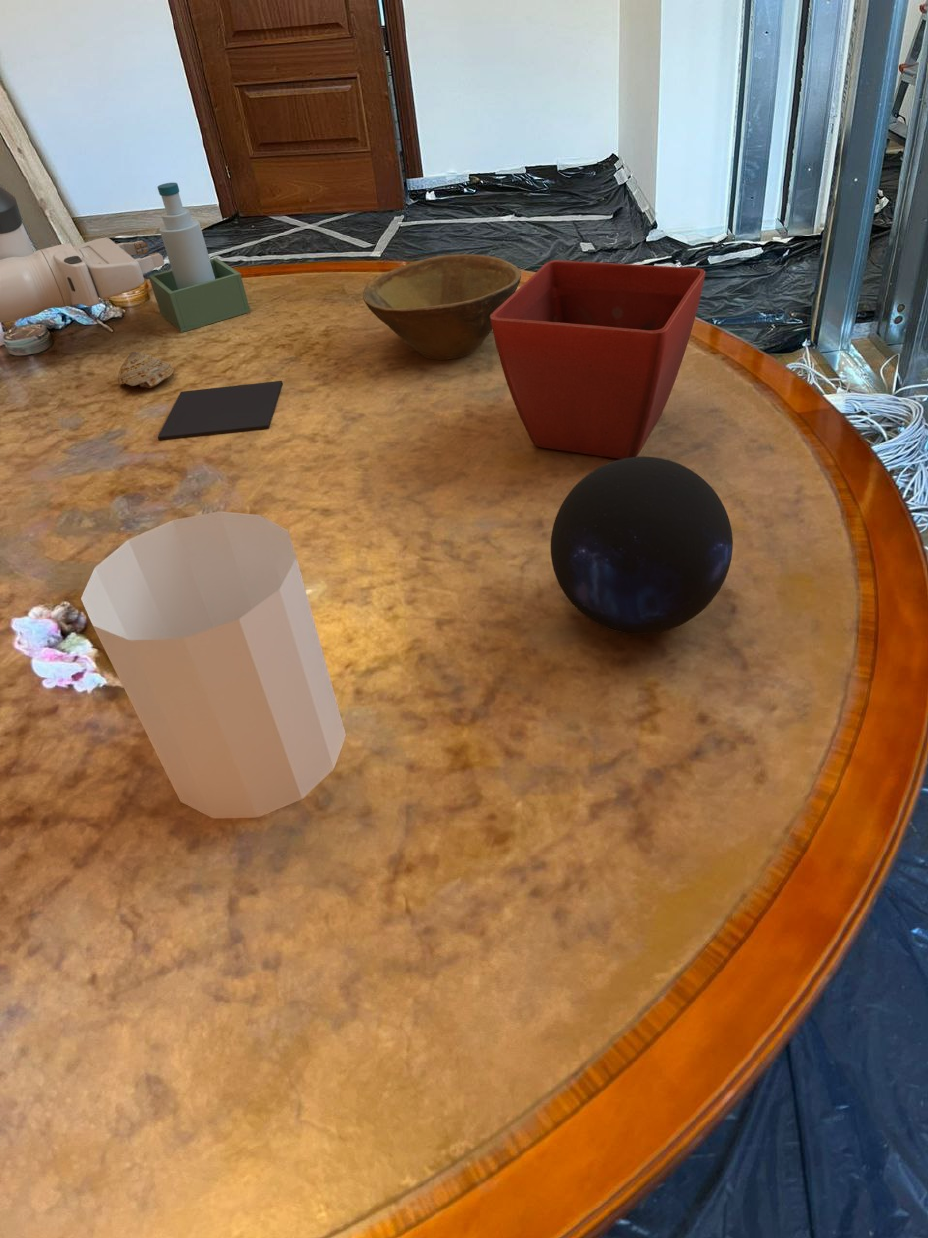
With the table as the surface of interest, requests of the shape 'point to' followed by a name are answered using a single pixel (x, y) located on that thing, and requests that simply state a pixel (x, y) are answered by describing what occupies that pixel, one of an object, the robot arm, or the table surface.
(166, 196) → the bottle
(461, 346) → the bowl
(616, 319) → the flower pot
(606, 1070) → the table surface
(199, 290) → the green open box
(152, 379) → the seashell
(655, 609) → the decorative sphere
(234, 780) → the container
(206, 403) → the mat
